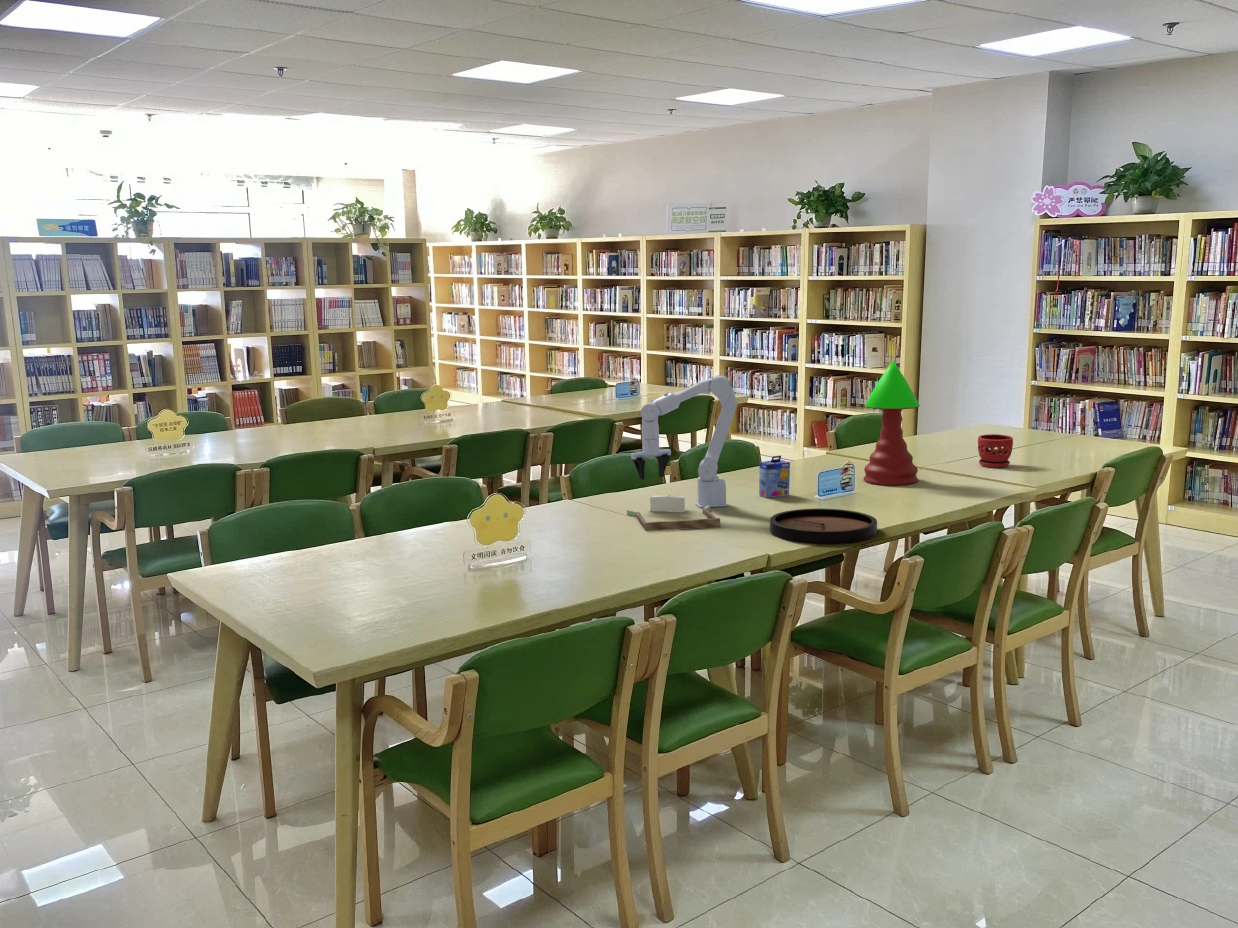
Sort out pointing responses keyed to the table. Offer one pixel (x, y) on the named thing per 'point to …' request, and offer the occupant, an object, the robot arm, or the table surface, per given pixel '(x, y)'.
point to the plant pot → (995, 450)
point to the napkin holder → (667, 503)
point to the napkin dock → (678, 522)
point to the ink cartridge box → (774, 478)
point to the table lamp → (891, 431)
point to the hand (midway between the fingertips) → (651, 478)
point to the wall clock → (823, 526)
